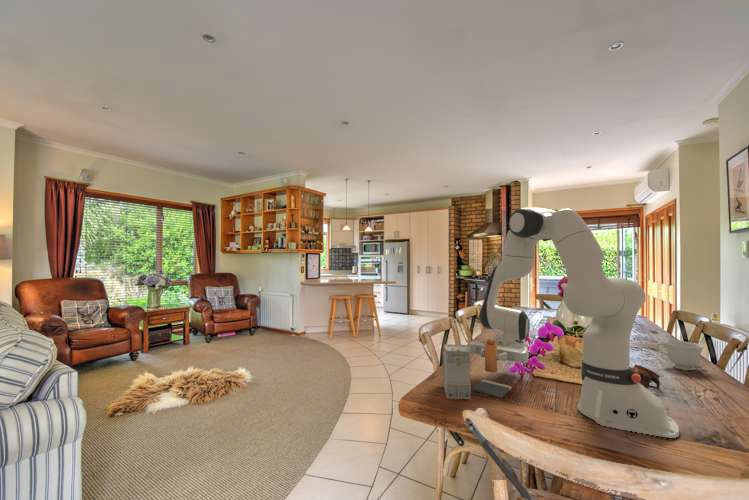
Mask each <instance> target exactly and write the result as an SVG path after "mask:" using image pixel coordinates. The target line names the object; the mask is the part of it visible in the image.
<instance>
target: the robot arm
mask: <svg viewBox="0 0 749 500" xmlns="http://www.w3.org/2000/svg"><path fill="white" fill-rule="evenodd" d="M508 229H509V230H508V232H507V234H506V237H505V241H504V246H503V252H502V253H503V254H502V258H501V261H500V263H499V264H498V265H496V266H494V268H493V269H492V272H491V274H490V277H489V281H488V284H487V289H486V292H485V296H484V299H483V303H482V305H481V308H480V310H479V315H478V322H479V323H480V324H481V326H482V327H483V328H484V329H486V330H487V329H488V330H492V331H495V330H496V331H498V332H502V333H501V334H499V335H497V336H496V337H494V338H493V339H492V340H495V343H496V344H497V354H496V360H497V361H503V362H504V361H509V362H515V363H519V364H527V363H528V360H529V345H528V343H527V342H526V338H527V337H528V336H529V332H530V325H531V324H530V319H529V317H528V315H527V313H526V312H525V311H523V310H520V309H516V308H511V307H505V306H501V305H498V304H497V300H498V295H499V292H500V290H501V289H500V288H501V286H502V284H503V283H505V282H508V281H513V280H518V279H522V278H524V277H526V276H528V275H529V274H530V273H531V272H532V270H533V267H534V263H535V254H536V245H537V244H538V243H539V241H543V242H549V241H551V242H552V243H553V246H554V248H555V250H556V251H557V253H558V255H559V257H560V260H561V261H562V264H563V266H564V269H565V272H566V278H567V281H566V282H567V283H566V287H565V288H564V291H563V295H562V296H563V297H562V298H563V299H562V300H563V303H564V305H565V307H566V309H568V311H569V312H571V313H572V314H574V315H577V316H581V317H585V318H586V317H587V318H591V322H590V324H589V325H588V327H587V328H586V329H585V331H584V332H583V334H582V360H581V363H580V377H581V380H582V383H581V384H582V385H581V391H580V392H581V393H580V396H579V401H578V404H577V410H578V412H580V413H581V414H582V415H583V416H586V417H588V418H589V419H591V420H593V421H595V422H596V423H597V424H598V425H599V424H600V426H602V427H605V426H606V428H610V427H611V428H612V429H615V428H616V430H621V431H625V430H626V432H630V431H632V432H631V433H635V432H637V433H636V434H641V433H643V434H642V435H646V434H650V435H649V436H651V435H658V436H664V437H669V438H675V439H676V437H677V438H678V437H679V436H680V428H679V424H678V423H677V422H676V421H675V420H674V419H673V418H672V417H670V416H668V413H667V409H666V407H665V405H664V403H663V401H662V399H661V398H659V397H658V396H657V395H656V394H654V393H653V392H652V391H650V390H649V389H648V388H647V389H646V388H645V387H644V386H643V385H641V384H640V383H639V382H640V381H641V377H640V375H639V373H638V371H637V369H636V370H634V369H633V367H631V366H630V365H631V364H630V348H631V347H630V342H631V335H632V331H633V327H634V324H635V321H636V317H637V315H638V313H639V311H640V310H641V308H642V307H643V306H644V304H645V303H646V300H647V299H646V296H647V295H646V293H645V290H644V288H643V287H642V286H641V284H639V283H637V282H635V281H632V280H630V279H627V278H623V277H608V276H606V274H605V273H604V269H603V268H604V267H603V264H602V263H603V261H604V259H605V252H604V250H603V249H602V248H601V246H600V243H599V242H598V241H597V239H596V237H595V236H594V233H593V232H592V230H591V229H590V227H589V226H588V224H587V223H586V221H585V220H584V219H583V218H582V217H581V215H580V214H578V212H576V211H575V210H574V209H571V208H562V209H559V210H557V209H550V208H543V207H521V208H518V209H517V208H516V209H515V210H514V211H513V212H512V213H511V214H510V217H509V218H508ZM485 343H487V340H486V341H485V340H473V341H470V342H469V343H468V349H469V350H470V354H472V355H473V354H474V355H480V357H481V358H485ZM611 428H610V429H611Z"/></svg>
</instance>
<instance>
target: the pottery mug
mask: <svg viewBox="0 0 749 500" xmlns="http://www.w3.org/2000/svg"><path fill="white" fill-rule="evenodd" d="M632 368H633V369H634V370H636V369H637V371H638V373H639V375H640V377H641V381H640V382H639V383H640V384H641V385H643V386H644V387H645V388H646V389H648V388H649V386H650V383H652V382H653V383H654V384H655V385H656V386H655V387H656V389H657V390H658V389H660V386H661V382H660V380H659V378H660V377H661V376H660V375H659V374H658V373H656V372H655V371H653V370H651V369H650V368H648V367H645V366H642V365H639V364H634V366H633V367H632Z"/></svg>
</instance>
